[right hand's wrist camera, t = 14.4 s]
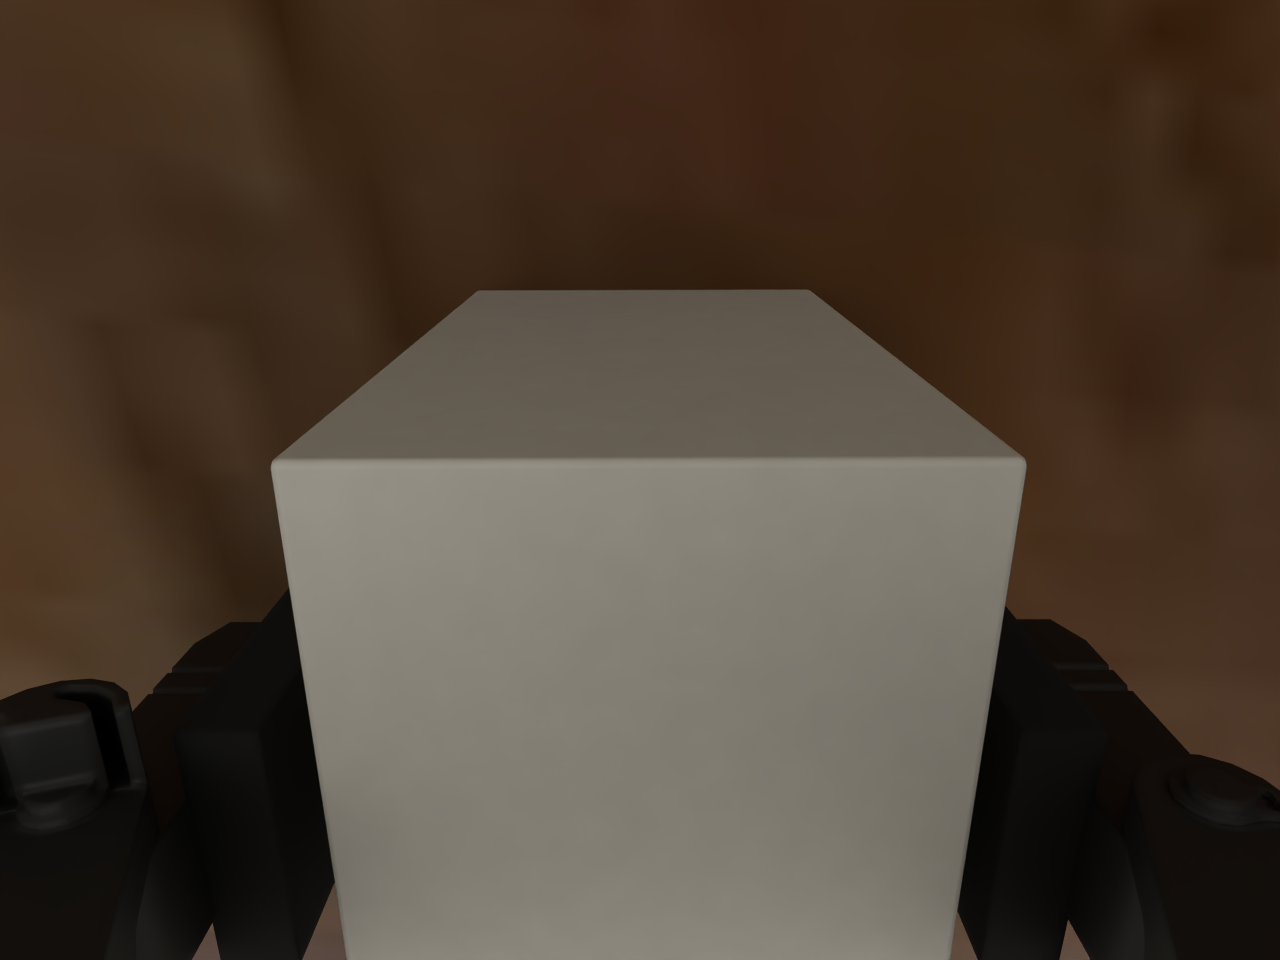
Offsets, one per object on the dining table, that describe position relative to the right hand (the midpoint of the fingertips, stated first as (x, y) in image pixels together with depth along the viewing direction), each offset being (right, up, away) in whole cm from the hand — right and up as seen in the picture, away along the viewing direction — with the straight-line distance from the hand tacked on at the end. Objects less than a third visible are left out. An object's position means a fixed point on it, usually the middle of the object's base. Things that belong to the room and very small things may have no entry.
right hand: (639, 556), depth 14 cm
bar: (0, -11, +6) cm, 12 cm away
